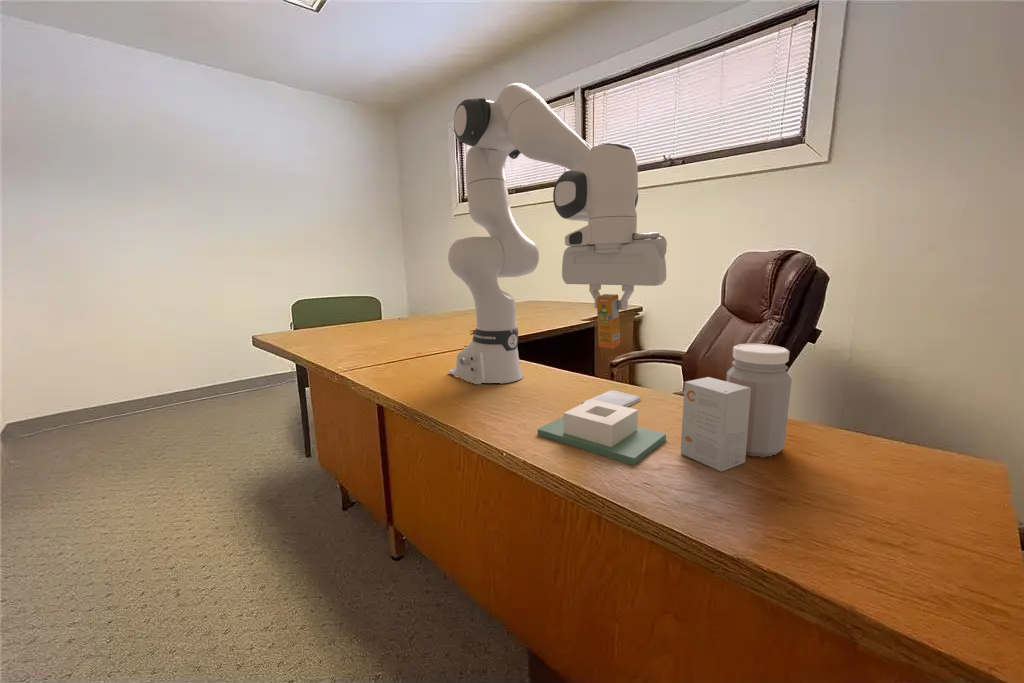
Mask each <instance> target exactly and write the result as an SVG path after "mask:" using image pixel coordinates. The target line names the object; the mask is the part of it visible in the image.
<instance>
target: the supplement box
mask: <svg viewBox="0 0 1024 683" xmlns="http://www.w3.org/2000/svg"><path fill="white" fill-rule="evenodd" d="M600 295H601V296H598V297H597V308H596V311H597V312H596V313H597V336H598V347H599V348H604V349H612V350H613V349H615V348H617V347H619V346H620V345H621V333H620V332H621V330H620V310H618V309H616V306H617V304H616V300H620V299H619V294H613V293H612V294H610V293H604V294H600Z"/></svg>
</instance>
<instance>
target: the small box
mask: <svg viewBox="0 0 1024 683" xmlns="http://www.w3.org/2000/svg"><path fill="white" fill-rule="evenodd" d="M750 394H751V388H750V387H746V386H742V385H738V384H734V383H730V382H727V381H726V380H724V379H723V380H721V379H718V378H714V377H710V376H706V377H701V378H696V379H692V380H687V381H684V390H683V404H682V406H683V407H682V424H681V440H680V441H681V443H680V454H681V455H683V456H685V457H687V458H689V459H692V460H694V461H696V462H697V463H698V462H699V463H701V464H703V465H705V466H707V467H710V468H712V469H714V470H716V471H719V472H720V473H723V472H725V471H727V470H729V469H732V468H735V467H737V466H740V465H743V464H744V463H746V457H747V455H746V445H747V433H748V419H749V407H750Z"/></svg>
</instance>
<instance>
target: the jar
mask: <svg viewBox="0 0 1024 683" xmlns="http://www.w3.org/2000/svg"><path fill="white" fill-rule="evenodd" d="M790 352H791V351H790V350H788V349H787V348H785V347H782V346H778V345H775V344H774V345H773V344H767V343H766V344H764V343H739V344H737V345H734V346H733V348H732V357H733V358H734V360H733V361H732V362H731V364H732V365H733V366H732V367H730V368H729V369H728V370H727V371H726V379H725V381H727V382H730V383H734V384H738V385H742V386H746V387H750V388H751V394H750V407H749V419H748V433H747V445H746V456H749V457H756V456H760V458H768V457H767V456H769V457H773V456H772V455H775V456H776V455H777V454H778V453H780V452H781V451H783V449H784V448H785V446H786V445H785V444H786V435H787V426H788V416H789V408H790V400H791V398H790V397H791V389H792V380H793V379H792V377H791V376H790V375H789V373H788V372H787V370H788V369H789V367H788V365H786V363H788V362H789V360H790V359H789V358H790Z"/></svg>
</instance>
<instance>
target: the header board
mask: <svg viewBox="0 0 1024 683" xmlns="http://www.w3.org/2000/svg"><path fill="white" fill-rule="evenodd" d="M590 399H591V398H590ZM588 400H589V399H588ZM638 412H639V410H638V409H636V408H632V407H623V406H619V405H615V404H610V403H606V402H601V401H597V400H592V399H591V400H589V401H587V402H585V403H583V404H579V405H577V406H575V407H573V408H570V409H569V410H567V411H564V412H563V416H561V417H559V418H557V419H555V420H553V421H551V422H549V423H547V424H545V425H543V426H541V427H539V428H538V429H537V436H540V437H543V438H545V439H549V440H552V441H556V442H559V443H563V444H565V445H568V446H572V447H575V448H578V449H581V450H584V451H588V452H591V453H593V454H597V455H601V456H603V457H607V458H609V459H614V460H617V461H620V462H623V463H626V464H629V465H631V466H635V465H636V464H638V463H639V462H641V460H642V459H643V458H645V457H646V456H648V455H649V454H650V453H651V452H652V451H654V450H655V449H657V447H660V445H662V444H663V443H664V442H665V441H667V433H664V432H661V431H656V430H653V429H648V428H644V427H640V426H638V417H639V416H638V415H639V413H638Z"/></svg>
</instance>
